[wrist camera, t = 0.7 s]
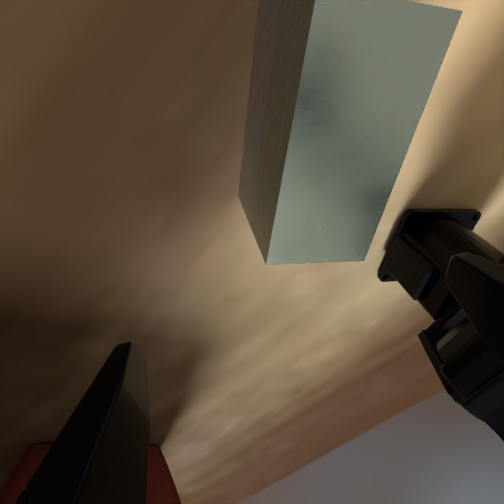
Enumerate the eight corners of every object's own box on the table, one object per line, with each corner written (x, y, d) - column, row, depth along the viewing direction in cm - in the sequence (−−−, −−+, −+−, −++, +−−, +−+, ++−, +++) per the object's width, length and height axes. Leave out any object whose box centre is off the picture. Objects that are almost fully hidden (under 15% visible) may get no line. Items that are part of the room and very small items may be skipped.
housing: (359, 7, 16) (462, 10, 11) (312, 195, 22) (364, 260, 16) (259, -10, 15) (318, -16, 9) (237, 194, 21) (266, 264, 15)
